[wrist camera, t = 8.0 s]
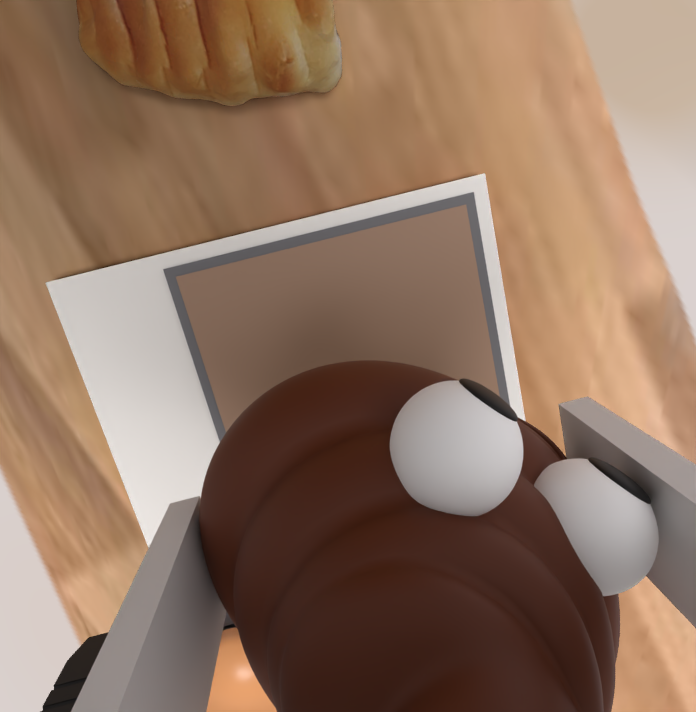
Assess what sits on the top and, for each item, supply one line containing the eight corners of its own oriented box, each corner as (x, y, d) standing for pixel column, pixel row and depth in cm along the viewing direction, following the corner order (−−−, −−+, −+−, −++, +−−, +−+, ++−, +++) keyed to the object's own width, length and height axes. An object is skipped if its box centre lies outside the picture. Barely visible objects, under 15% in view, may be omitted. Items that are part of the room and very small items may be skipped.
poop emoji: (150, 547, 14) (-120, 1118, 5) (322, 268, 13) (359, 389, 4) (457, 693, 16) (648, 1295, 7) (636, 465, 15) (1159, 859, 6)
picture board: (56, 279, 22) (12, 291, 19) (477, 174, 23) (507, 167, 19) (203, 662, 28) (188, 724, 24) (543, 573, 28) (576, 622, 25)
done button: (187, 601, 24) (168, 662, 21) (283, 576, 24) (279, 633, 21) (216, 678, 25) (203, 748, 22) (308, 655, 25) (308, 720, 22)
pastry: (117, 133, 22) (78, 115, 18) (66, -62, 20) (12, -127, 16) (350, 94, 22) (359, 68, 18) (320, -102, 20) (323, -175, 16)
